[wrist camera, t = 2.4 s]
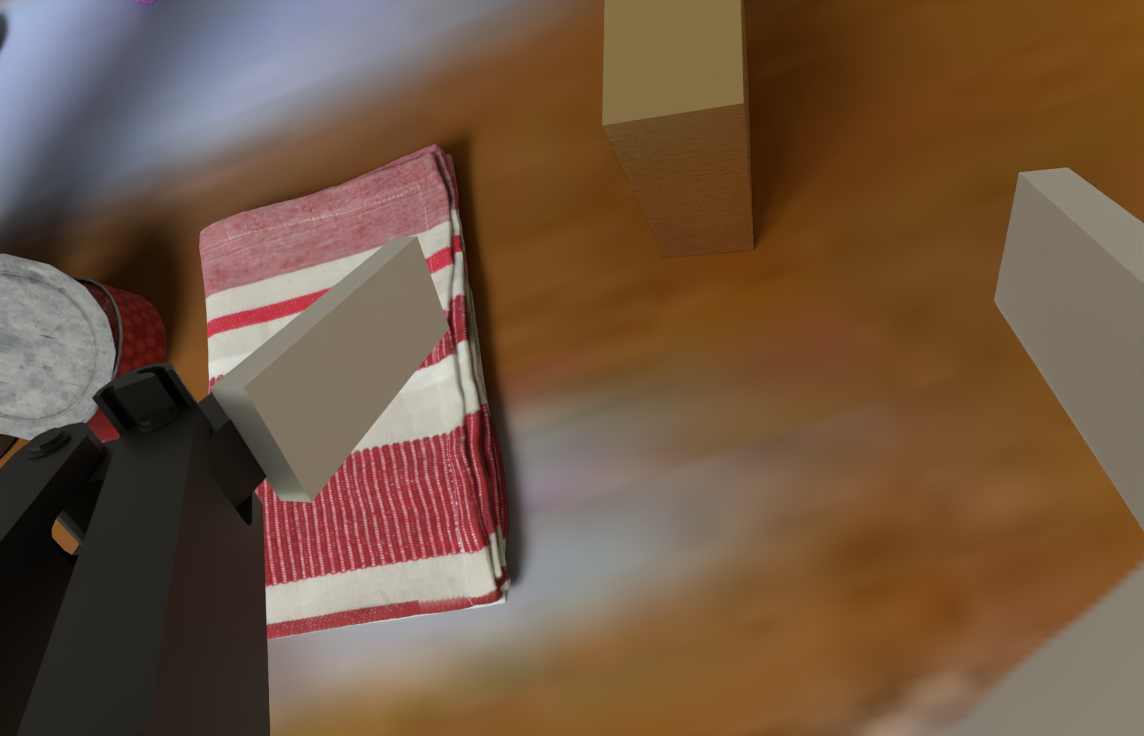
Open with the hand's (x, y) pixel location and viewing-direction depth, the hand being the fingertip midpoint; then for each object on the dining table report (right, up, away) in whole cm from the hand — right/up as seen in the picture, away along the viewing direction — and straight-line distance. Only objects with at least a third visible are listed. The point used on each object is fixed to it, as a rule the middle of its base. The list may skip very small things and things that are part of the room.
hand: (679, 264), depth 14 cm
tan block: (+4, +7, +14) cm, 16 cm away
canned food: (-32, -2, +24) cm, 40 cm away
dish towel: (-14, -4, +19) cm, 24 cm away
